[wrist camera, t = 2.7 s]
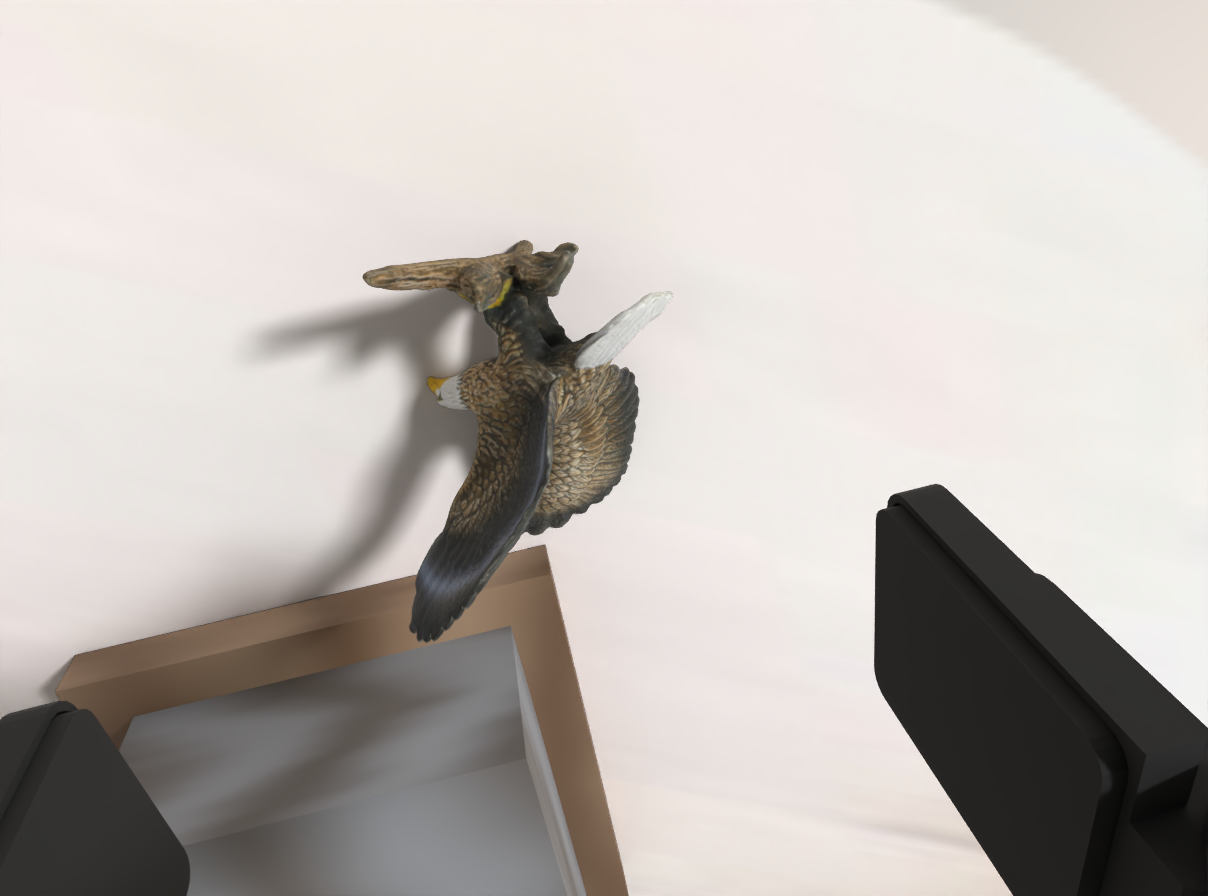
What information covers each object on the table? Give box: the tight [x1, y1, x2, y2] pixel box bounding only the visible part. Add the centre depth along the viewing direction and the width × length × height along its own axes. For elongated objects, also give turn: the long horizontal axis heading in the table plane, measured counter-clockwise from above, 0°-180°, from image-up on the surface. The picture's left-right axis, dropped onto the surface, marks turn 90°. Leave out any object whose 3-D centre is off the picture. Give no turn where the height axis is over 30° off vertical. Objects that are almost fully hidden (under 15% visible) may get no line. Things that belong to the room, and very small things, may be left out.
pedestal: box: [55, 545, 629, 896], centre depth 26 cm, size 14×16×6 cm
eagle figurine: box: [362, 240, 673, 643], centre depth 20 cm, size 8×7×9 cm
